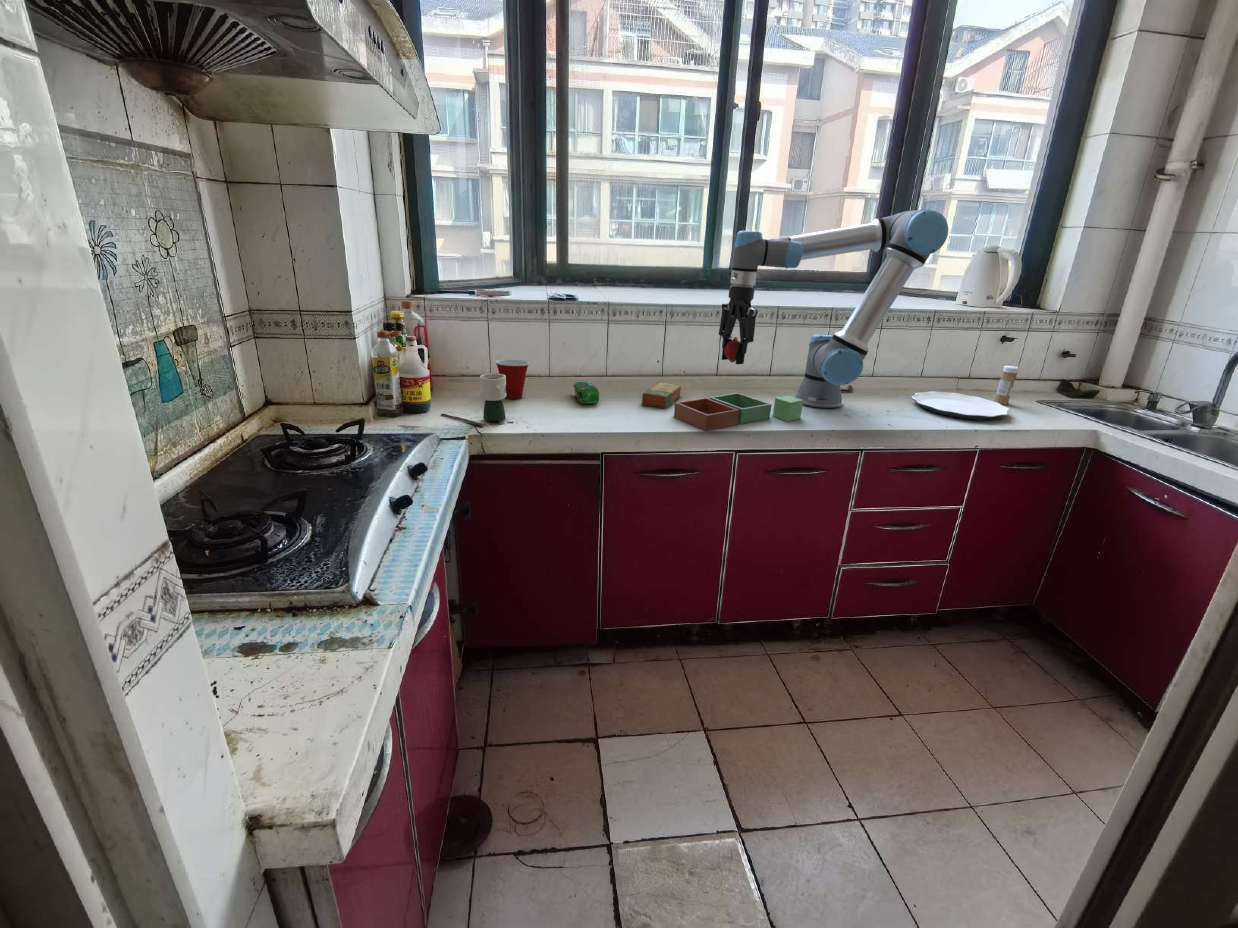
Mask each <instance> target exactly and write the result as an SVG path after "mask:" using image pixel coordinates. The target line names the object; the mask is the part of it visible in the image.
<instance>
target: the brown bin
mask: <svg viewBox="0 0 1238 928" xmlns="http://www.w3.org/2000/svg"><path fill="white" fill-rule="evenodd" d="M738 414H739V410H738V409H735V408H732V407H730V406H727V405H724V404H722V403H719V402H716V401H714V400H711V399H709V398H708V397H701V398H695V399H689V400H683V401H677V402H676V401H674V412H673V418H676V419H678V420H681V421H682V422H685V423H687V424H689V425H692V426H693V427H696V428H698V429H700V430H703V431H712V430H717V429H722V428H728V427H732V426H738V423H737V422H738Z"/></svg>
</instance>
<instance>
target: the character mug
mask: <svg viewBox="0 0 1238 928" xmlns="http://www.w3.org/2000/svg"><path fill="white" fill-rule="evenodd" d="M479 385H480V397H481V399H482V400H484V405H483V420H484V421H488V422H496V423H497V422H498V421H504V420H506V418H507V417H506V409H505V405H504V402H503V400H504V399H506V398H505V397H506V376H505V375H503V374H499V373H484V374H481V375H480V376H479Z"/></svg>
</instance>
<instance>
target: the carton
mask: <svg viewBox="0 0 1238 928" xmlns="http://www.w3.org/2000/svg"><path fill="white" fill-rule="evenodd" d="M681 389H682V387H681V385H680V384H673V383H667V382H666V383H665V382H657V383H656V384H654V385H653V386H651V387H650V388H648V389H647V390H644V392H642V398H641V405H642V406H648V407H652V408H653V407H654V408H660V409H668V407H669V406H671V405H672V404H673V403H675V402H676V400H678V399H679V398H680V397H681Z"/></svg>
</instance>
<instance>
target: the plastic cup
mask: <svg viewBox="0 0 1238 928" xmlns="http://www.w3.org/2000/svg"><path fill="white" fill-rule="evenodd" d="M494 362H495V364H496V367H497V371H498V374H503V375H505V376H506V397H505V398H504V399H507V400H520V399H522V398H523V395H524V388H525V383H526V375H527V371H528V368H529V365H530V362H529V361H528V360H521V359H498V360H495V361H494Z"/></svg>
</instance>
